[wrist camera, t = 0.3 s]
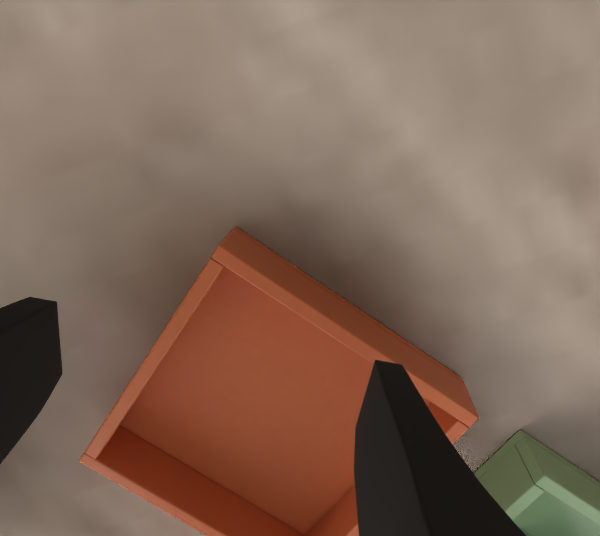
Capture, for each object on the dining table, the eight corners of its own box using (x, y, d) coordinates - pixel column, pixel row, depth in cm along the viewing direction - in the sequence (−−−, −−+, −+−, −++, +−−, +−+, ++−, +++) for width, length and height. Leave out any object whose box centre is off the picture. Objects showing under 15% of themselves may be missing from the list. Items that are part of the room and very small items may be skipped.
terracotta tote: (309, 539, 26) (305, 593, 23) (108, 420, 24) (77, 461, 22) (462, 377, 22) (480, 418, 19) (235, 225, 21) (218, 244, 18)
